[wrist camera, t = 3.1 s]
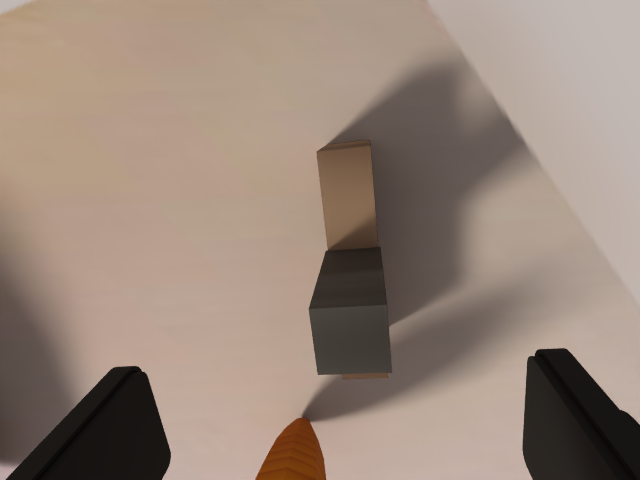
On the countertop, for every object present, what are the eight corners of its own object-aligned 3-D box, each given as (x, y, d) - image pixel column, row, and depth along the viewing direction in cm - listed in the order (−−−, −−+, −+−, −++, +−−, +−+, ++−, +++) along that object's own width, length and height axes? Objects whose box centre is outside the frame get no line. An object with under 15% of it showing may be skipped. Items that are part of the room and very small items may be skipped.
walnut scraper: (325, 144, 22) (289, 168, 12) (371, 139, 22) (376, 159, 11) (345, 330, 26) (332, 477, 15) (385, 328, 25) (399, 477, 15)
